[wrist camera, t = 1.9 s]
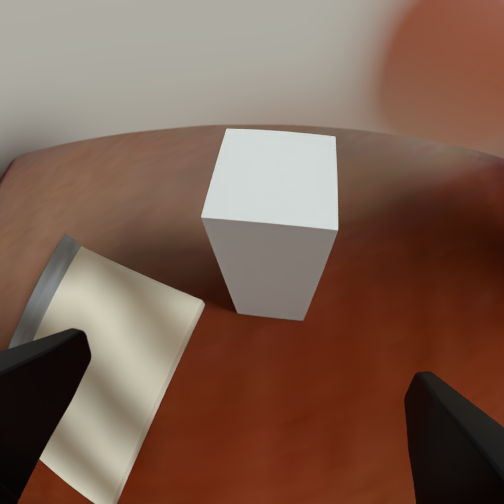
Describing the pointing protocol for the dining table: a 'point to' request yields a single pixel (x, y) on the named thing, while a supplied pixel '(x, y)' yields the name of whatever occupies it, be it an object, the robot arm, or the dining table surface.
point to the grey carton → (273, 218)
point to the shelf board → (107, 361)
